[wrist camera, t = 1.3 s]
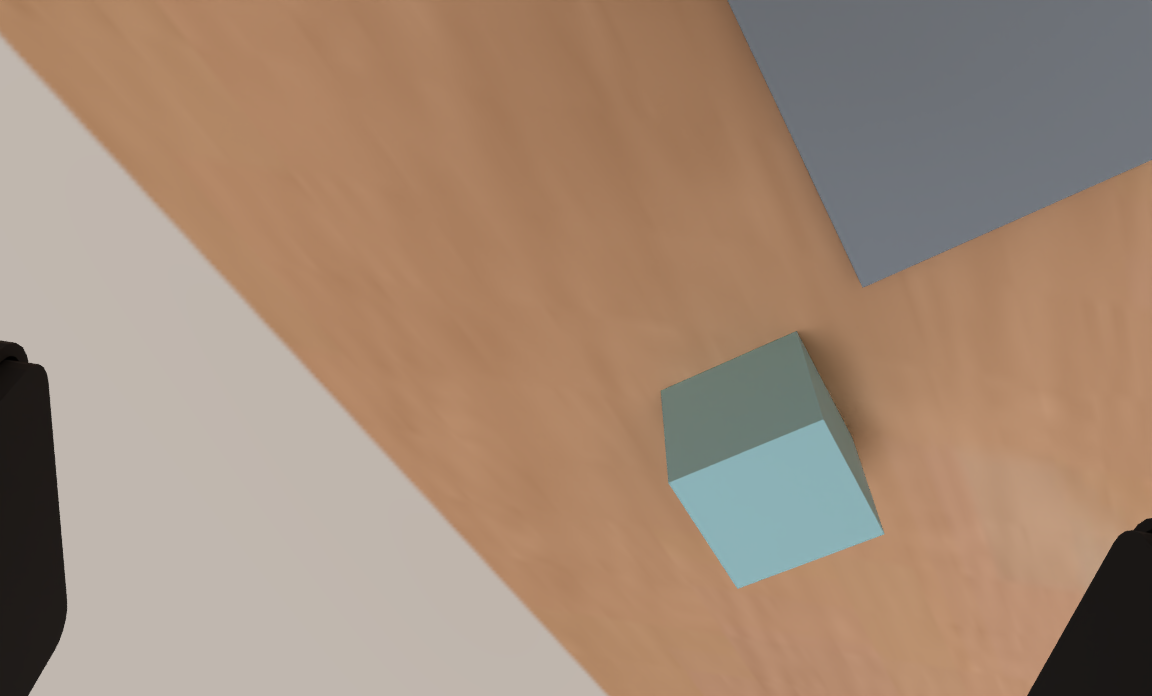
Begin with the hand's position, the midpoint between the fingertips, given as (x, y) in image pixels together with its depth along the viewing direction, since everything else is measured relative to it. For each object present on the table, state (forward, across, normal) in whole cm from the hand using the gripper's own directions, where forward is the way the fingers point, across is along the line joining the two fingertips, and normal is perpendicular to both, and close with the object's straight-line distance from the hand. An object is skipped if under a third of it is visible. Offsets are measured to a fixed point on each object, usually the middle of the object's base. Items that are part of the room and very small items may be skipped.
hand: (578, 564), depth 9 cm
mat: (+29, -13, -1) cm, 31 cm away
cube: (+30, -10, +16) cm, 35 cm away
